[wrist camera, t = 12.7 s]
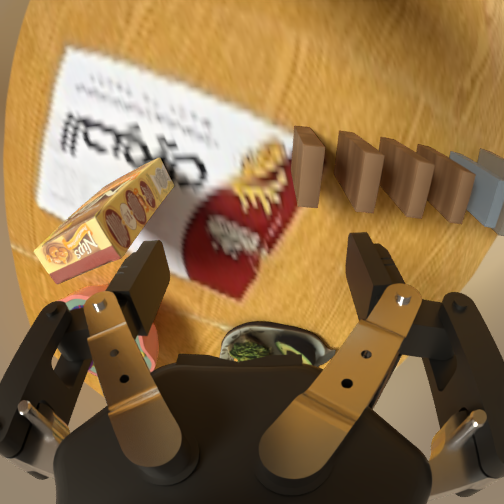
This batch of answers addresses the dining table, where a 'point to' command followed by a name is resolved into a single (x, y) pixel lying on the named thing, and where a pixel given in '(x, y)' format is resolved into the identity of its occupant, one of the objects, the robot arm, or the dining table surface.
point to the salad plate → (273, 343)
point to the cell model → (145, 343)
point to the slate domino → (483, 191)
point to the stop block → (499, 168)
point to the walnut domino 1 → (307, 166)
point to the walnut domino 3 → (405, 177)
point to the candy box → (105, 223)
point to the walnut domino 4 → (448, 185)
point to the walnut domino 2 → (358, 170)
